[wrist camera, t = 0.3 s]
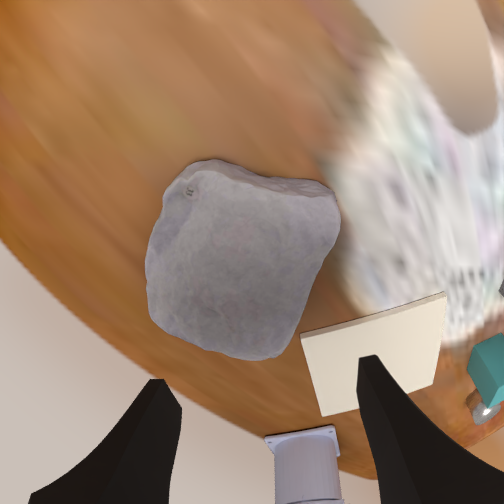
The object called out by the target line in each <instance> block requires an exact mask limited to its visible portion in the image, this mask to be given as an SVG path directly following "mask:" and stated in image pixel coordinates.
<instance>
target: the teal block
mask: <svg viewBox="0 0 504 504" xmlns="http://www.w3.org/2000/svg"><path fill="white" fill-rule="evenodd" d="M467 371H468V373H469V374H470V376H471V378H472V380H473V382H474V384H475V386H476V387H477V389H478V391H479V393H480V395H481V397H482V399H483V401H484V403H485V405H486V407H487V409H489V408H490V407H492V406H494V405H496V404H498V403H500V402H501V401H503V400H504V336H503V335H502V333H499V334H497V335H495V336H493V337H491V338H489V339H487V340H485V341H483V342H481V343H479V344H477V345H475V346H474V347H473V350H472V354H471V357H470V360H469V364H468V367H467Z"/></svg>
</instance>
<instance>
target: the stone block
mask: <svg viewBox="0 0 504 504" xmlns="http://www.w3.org/2000/svg"><path fill="white" fill-rule="evenodd" d="M340 224H341V216H340V212H339V209H338V206H337V200H336V197H335V194H334V192H333V191H331V190H330V189H329V188H327V187H325V186H324V185H322V184H320V183H319V182H318V181H314V180H308V179H296V178H283V177H269V178H268V177H264V176H259V175H257V174H255V173H253V172H251V171H248V170H246V169H245V168H243V167H241V166H238V165H234V164H230V163H226V162H224V161H222V160H218V159H211V160H208V161H198V162H195V163H193V164H191V165H189V166H188V167H186V168H185V170H183V171H182V172H181V173H180V174H179V175H178V176H177V177H176V178H175V179H174V181H173V182H172V183H171V184H170V185H169V186H168V187H167V189H166V191H165V193H164V196H163V209H162V211H161V214H160V216H159V218H158V220H157V221H156V223H155V225H154V227H153V231H152V233H151V236H150V239H149V243H148V250H147V254H146V258H145V274H146V279H147V281H148V282H147V287H146V291H147V296H148V309H149V314H150V317H151V319H152V320H153V321H154V322H155V323H156V324H157V325H158V326H159V327H160V328H161V329H163V330H164V331H165V332H167V333H168V334H171V335H173V336H176V337H179V338H181V339H183V340H185V341H187V342H190V343H192V344H195V345H197V346H199V347H201V348H202V349H204V350H211V351H216V352H221V353H223V354H225V355H227V356H229V357H234V358H238V359H242V360H251V361H259V360H264V359H267V358H270V357H271V358H275V357H276V356H278V355H280V354H282V352H283V351H284V349H285V348H286V347H287V346H288V344H289V342H290V341H291V339H292V336H293V334H294V332H295V329H296V327H297V325H298V323H299V321H300V319H301V316H302V314H303V311H304V308H305V306H306V303H307V299H308V296H309V293H310V290H311V288H312V285H313V283H314V280H315V278H316V275H317V273H318V272H319V270H320V268H321V266H322V264H323V261H324V259H325V257H326V256H327V254H328V253H329V252H330V250H331V249H332V248H333V246H334V244H335V242H336V239H337V237H338V234H339V231H340Z"/></svg>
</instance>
